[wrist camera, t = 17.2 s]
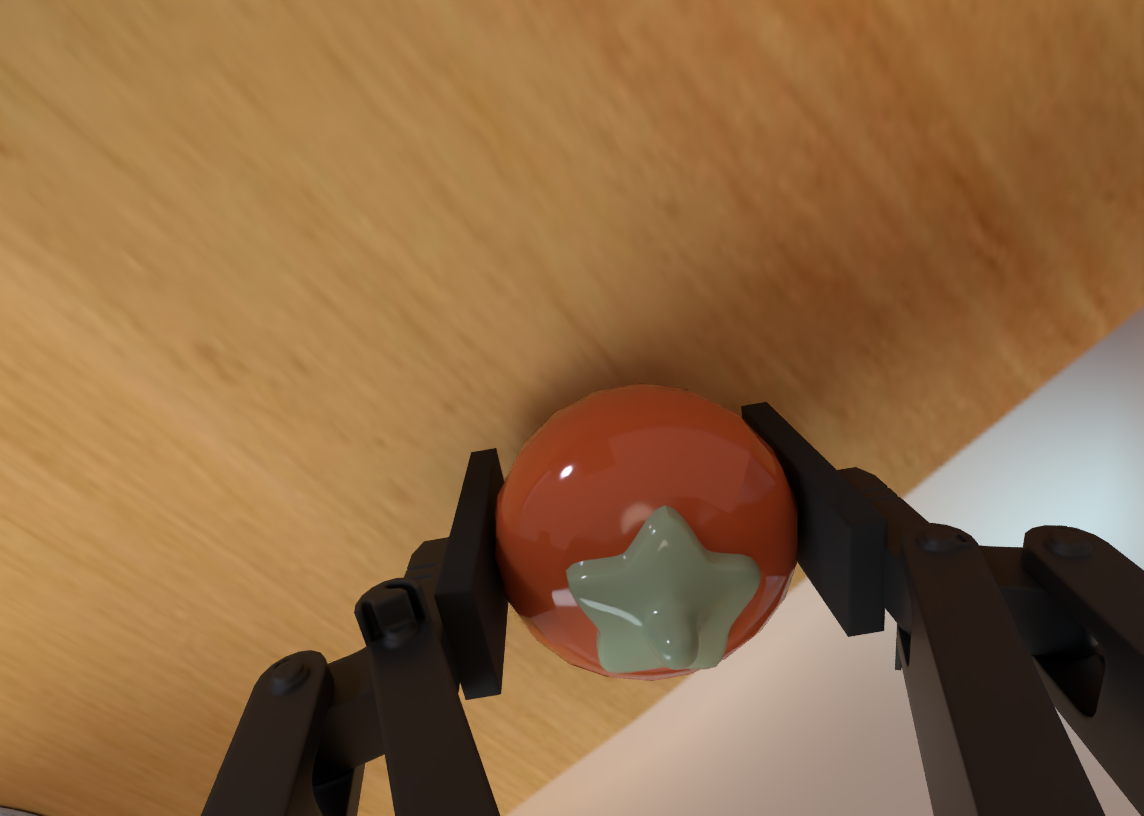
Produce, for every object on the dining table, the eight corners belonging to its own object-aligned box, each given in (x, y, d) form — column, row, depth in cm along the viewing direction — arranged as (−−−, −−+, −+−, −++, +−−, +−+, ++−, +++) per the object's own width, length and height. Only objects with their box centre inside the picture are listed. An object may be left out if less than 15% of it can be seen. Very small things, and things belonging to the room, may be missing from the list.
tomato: (508, 570, 19) (487, 815, 12) (495, 350, 17) (457, 486, 9) (732, 561, 20) (850, 794, 12) (754, 343, 17) (923, 470, 9)
